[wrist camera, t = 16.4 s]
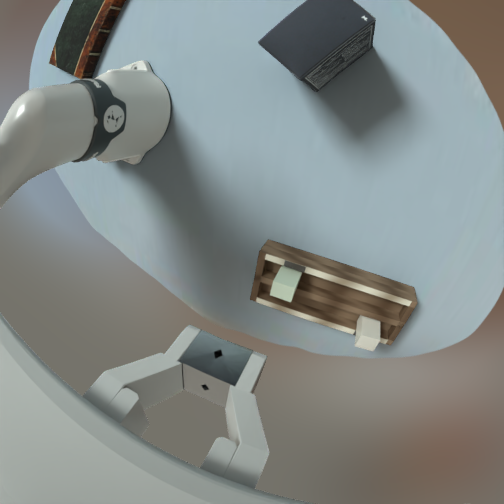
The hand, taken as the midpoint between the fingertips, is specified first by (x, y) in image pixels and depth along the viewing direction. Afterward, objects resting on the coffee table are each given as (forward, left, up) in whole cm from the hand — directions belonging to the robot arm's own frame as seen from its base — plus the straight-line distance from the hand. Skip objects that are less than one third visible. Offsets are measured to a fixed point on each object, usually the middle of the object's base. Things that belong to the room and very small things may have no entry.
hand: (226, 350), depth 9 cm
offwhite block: (+13, -18, -28) cm, 36 cm away
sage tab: (-1, -14, -28) cm, 31 cm away
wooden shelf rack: (+6, -16, -30) cm, 35 cm away
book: (-50, +27, -31) cm, 65 cm away
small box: (-3, +17, -31) cm, 35 cm away
